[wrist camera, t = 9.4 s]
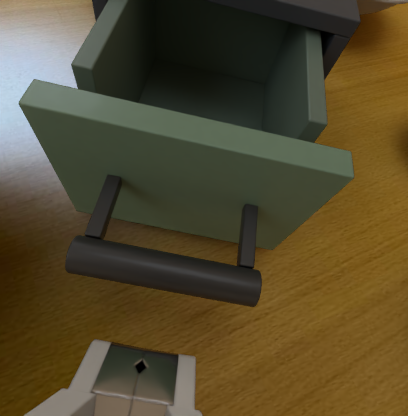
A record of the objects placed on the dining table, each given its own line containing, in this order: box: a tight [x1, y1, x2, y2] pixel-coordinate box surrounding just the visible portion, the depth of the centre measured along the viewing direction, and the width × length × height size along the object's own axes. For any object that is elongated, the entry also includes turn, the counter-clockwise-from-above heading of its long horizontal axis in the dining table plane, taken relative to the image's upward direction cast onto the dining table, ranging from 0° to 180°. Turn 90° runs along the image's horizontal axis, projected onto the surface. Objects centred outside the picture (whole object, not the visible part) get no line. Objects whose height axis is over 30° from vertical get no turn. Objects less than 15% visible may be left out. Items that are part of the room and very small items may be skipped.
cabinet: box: [92, 0, 361, 80], centre depth 20 cm, size 15×13×10 cm
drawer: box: [19, 0, 354, 307], centre depth 15 cm, size 18×11×8 cm, turn 171°
